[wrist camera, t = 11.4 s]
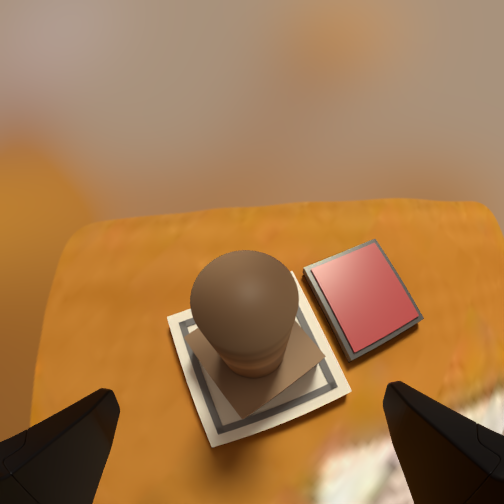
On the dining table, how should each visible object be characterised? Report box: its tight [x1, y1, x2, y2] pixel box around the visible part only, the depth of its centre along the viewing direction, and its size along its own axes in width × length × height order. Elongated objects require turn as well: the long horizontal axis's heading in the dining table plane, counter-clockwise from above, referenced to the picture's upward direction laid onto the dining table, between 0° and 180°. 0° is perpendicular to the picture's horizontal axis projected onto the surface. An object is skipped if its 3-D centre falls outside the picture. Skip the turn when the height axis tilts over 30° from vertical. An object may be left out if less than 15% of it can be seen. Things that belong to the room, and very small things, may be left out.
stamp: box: [184, 250, 326, 419], centre depth 14 cm, size 6×6×11 cm
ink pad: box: [303, 239, 424, 362], centre depth 21 cm, size 8×7×1 cm
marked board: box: [167, 271, 351, 447], centre depth 20 cm, size 10×10×1 cm
